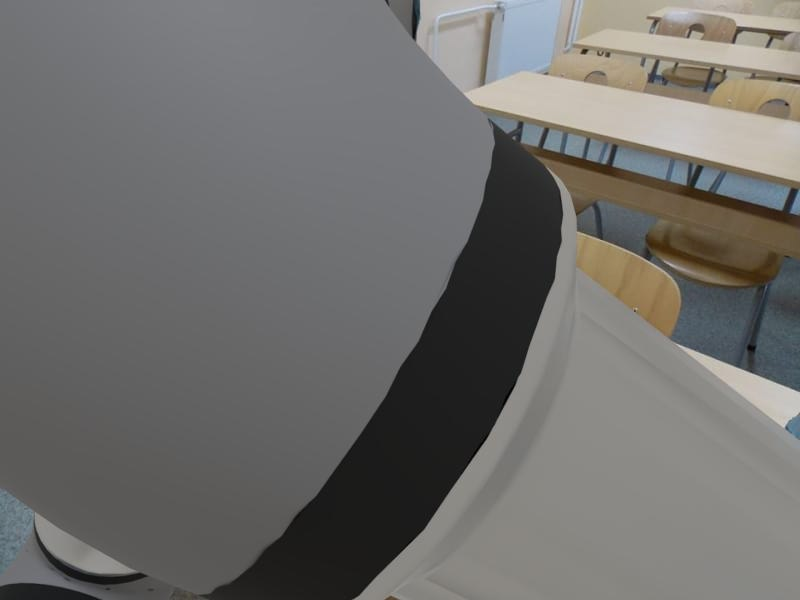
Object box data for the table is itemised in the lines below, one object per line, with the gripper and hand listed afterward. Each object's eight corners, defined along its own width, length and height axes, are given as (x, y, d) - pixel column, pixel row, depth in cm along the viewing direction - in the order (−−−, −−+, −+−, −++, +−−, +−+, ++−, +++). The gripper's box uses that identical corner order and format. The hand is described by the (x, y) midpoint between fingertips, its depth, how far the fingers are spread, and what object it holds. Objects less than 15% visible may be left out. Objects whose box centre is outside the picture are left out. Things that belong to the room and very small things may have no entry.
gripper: (575, 541, 41) (403, 367, 56) (682, 453, 48) (503, 320, 63) (600, 484, 36) (405, 312, 52) (714, 397, 43) (513, 268, 59)
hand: (459, 317), depth 57 cm, fingers closed on stirring stick, 2 cm apart
